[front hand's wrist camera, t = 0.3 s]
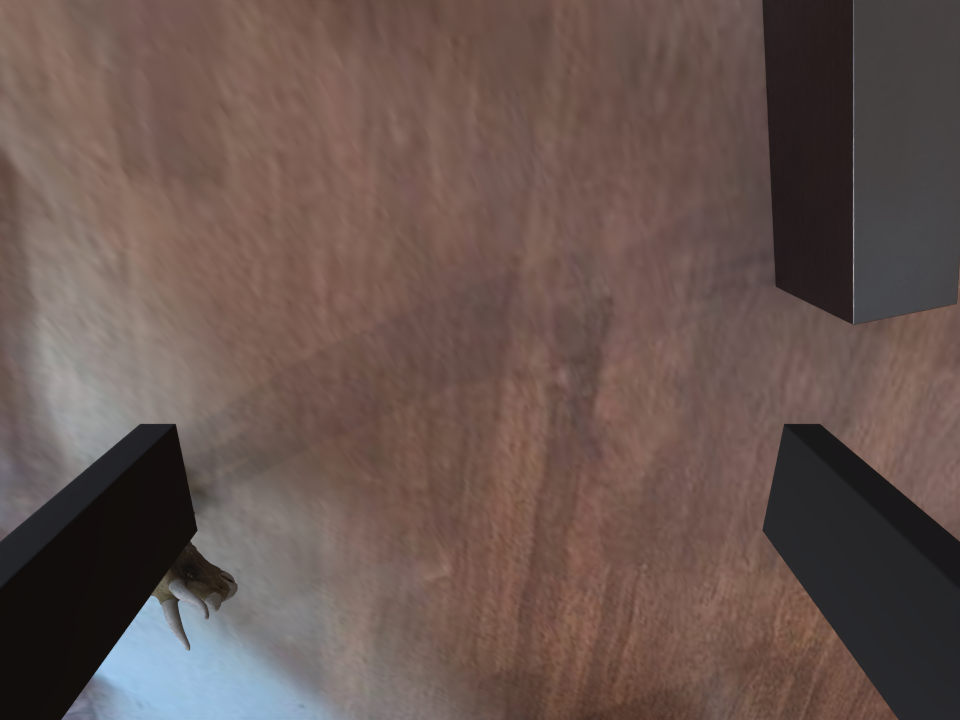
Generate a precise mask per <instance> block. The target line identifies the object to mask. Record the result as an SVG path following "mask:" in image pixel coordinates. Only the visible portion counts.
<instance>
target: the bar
mask: <svg viewBox="0 0 960 720" xmlns="http://www.w3.org/2000/svg"><path fill="white" fill-rule="evenodd" d="M763 19H764V41H765V62H766V83H767V105H768V126H769V147H770V169H771V190H772V211H773V233H774V254H775V275H776V287H778V288H780V289H782V290H784V291H786V292H788V293H790V294H792V295H794V296H796V297H798V298H800V299H802V300H804V301H806V302H808V303H810V304H812V305H814V306H816V307H818V308H820V309H822V310H824V311H826V312H828V313H830V314H832V315H834V316H836V317H839V318H841V319H843V320H845V321H847V322H849V323H851V324H853V325H856V324H861V323H866V322H870V321H875V320H880V319H885V318H890V317H895V316H900V315H905V314H910V313H915V312H920V311H925V310H930V309H934V308H939V307H944V306H949V305H954V304H957V295H958V279H959V263H960V0H763Z"/></svg>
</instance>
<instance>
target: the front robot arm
mask: <svg viewBox="0 0 960 720" xmlns="http://www.w3.org/2000/svg"><path fill="white" fill-rule="evenodd" d="M196 532H197V525H196V520H195V516H194V511H193V506H192V501H191V496H190V491H189V486H188V481H187V477H186V472H185V467H184V462H183V457H182V452H181V447H180V442H179V437H178V433H177V428H176V424H140V425H138V426H137V427H136V428H135V429H134V430H133V431H131V432H130V433H129V434H128V435H127V436H125V437H124V438H123V439H122V440H121V441H119V442H118V443H117V444H116V445H115V446H113V447H112V448H111V449H110V450H109V451H108V452H106V453H105V454H104V455H103V456H102V457H100V458H99V459H98V460H97V461H96V462H94V463H93V464H92V465H91V466H90V467H89V468H87V469H86V470H85V471H84V472H83V473H81V474H80V475H79V476H78V477H77V478H75V479H74V480H73V481H72V482H71V483H70V484H68V485H67V486H66V487H65V488H64V489H62V490H61V491H60V492H59V493H58V494H56V495H55V496H54V497H53V498H52V499H51V500H49V501H48V502H47V503H46V504H45V505H43V506H42V507H41V508H40V509H39V510H37V511H36V512H35V513H34V514H33V515H32V516H30V517H29V518H28V519H27V520H26V521H24V522H23V523H22V524H21V525H20V526H18V527H17V528H16V529H15V530H14V531H13V532H11V533H10V534H9V535H8V536H7V537H5V538H4V539H3V540H2V541H1V542H0V720H61V719H62V718H63V717H64V715H65V714H66V712H67V711H68V710H69V708H70V707H71V705H72V704H73V703H74V701H75V700H76V699H77V697H78V696H79V694H80V693H81V692H82V690H83V689H84V687H85V686H86V685H87V683H88V682H89V680H90V679H91V678H92V676H93V675H94V674H95V672H96V671H97V669H98V668H99V667H100V665H101V664H102V662H103V661H104V660H105V658H106V657H107V655H108V654H109V653H110V651H111V650H112V649H113V647H114V646H115V644H116V643H117V642H118V640H119V639H120V637H121V636H122V635H123V633H124V632H125V630H126V629H127V628H128V626H129V625H130V624H131V622H132V621H133V619H134V618H135V617H136V615H137V614H138V612H139V611H140V610H141V608H142V607H143V605H144V604H145V603H146V601H147V600H148V599H149V597H150V596H151V594H152V593H153V592H154V590H155V589H156V587H157V586H158V585H159V583H160V582H161V580H162V579H163V578H164V576H165V575H166V574H167V572H168V571H169V569H170V568H171V567H172V565H173V564H174V562H175V561H176V560H177V558H178V557H179V555H180V554H181V553H182V551H183V550H184V548H185V547H186V546H187V544H188V543H189V542H190V540H191V539H192V537H193V536H194V535H195V533H196ZM763 532H764V533H765V535H766V536H767V537H768V539H769V540H770V542H771V543H772V544H773V546H774V547H775V549H776V550H777V551H778V553H779V554H780V555H781V557H782V558H783V560H784V561H785V562H786V564H787V565H788V567H789V568H790V569H791V571H792V572H793V574H794V575H795V576H796V578H797V579H798V580H799V582H800V583H801V585H802V586H803V587H804V589H805V590H806V592H807V593H808V594H809V596H810V597H811V599H812V600H813V601H814V603H815V604H816V605H817V607H818V608H819V610H820V611H821V612H822V614H823V615H824V617H825V618H826V619H827V621H828V622H829V624H830V625H831V626H832V628H833V629H834V630H835V632H836V633H837V635H838V636H839V637H840V639H841V640H842V642H843V643H844V644H845V646H846V647H847V649H848V650H849V651H850V653H851V654H852V655H853V657H854V658H855V660H856V661H857V662H858V664H859V665H860V667H861V668H862V669H863V671H864V672H865V674H866V675H867V676H868V678H869V679H870V680H871V682H872V683H873V685H874V686H875V687H876V689H877V690H878V692H879V693H880V694H881V696H882V697H883V699H884V700H885V701H886V703H887V704H888V705H889V707H890V708H891V710H892V711H893V712H894V714H895V715H896V717H897V718H898V719H899V720H960V542H959V541H958V540H957V539H956V538H955V537H953V536H952V535H951V534H950V533H949V532H947V531H946V530H945V529H944V528H943V527H942V526H940V525H939V524H938V523H937V522H936V521H934V520H933V519H932V518H931V517H930V516H928V515H927V514H926V513H925V512H924V511H923V510H921V509H920V508H919V507H918V506H917V505H915V504H914V503H913V502H912V501H911V500H909V499H908V498H907V497H906V496H905V495H904V494H902V493H901V492H900V491H899V490H898V489H896V488H895V487H894V486H893V485H892V484H890V483H889V482H888V481H887V480H886V479H885V478H883V477H882V476H881V475H880V474H879V473H877V472H876V471H875V470H874V469H873V468H871V467H870V466H869V465H868V464H867V463H866V462H864V461H863V460H862V459H861V458H860V457H858V456H857V455H856V454H855V453H854V452H852V451H851V450H850V449H849V448H848V447H847V446H845V445H844V444H843V443H842V442H841V441H839V440H838V439H837V438H836V437H835V436H833V435H832V434H831V433H830V432H829V431H827V430H826V429H825V428H824V427H823V426H822V425H820V424H784V428H783V433H782V437H781V442H780V447H779V452H778V457H777V462H776V467H775V472H774V477H773V481H772V486H771V491H770V496H769V501H768V506H767V511H766V516H765V520H764V525H763Z"/></svg>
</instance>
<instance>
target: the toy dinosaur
mask: <svg viewBox="0 0 960 720" xmlns="http://www.w3.org/2000/svg"><path fill="white" fill-rule="evenodd" d="M194 514H195V512H194ZM237 586H238V585H237V584H236V583H235V580H234V578H233V577H232V576H231V575H230V574H229V573H227V572H225V571H222V570H221V569H220V568H219V567H217V566H214V565H212V564H211V563H209V562H208V561H207V560H206V559H205V558H204V557H203V556H202V555H201V554H200V553H199V552H198V551H197V549H196V547H195V546H194V545H192V543H191V541H190V542H189V543H188V544H187V546H186V547H185V548H184V550H183V551H182V553H181V554H180V555H179V557H178V558H177V560H176V561H175V562H174V564H173V565H172V567H171V568H170V569H169V571H168V572H167V574H166V575H165V576H164V578H163V579H162V580H161V582H160V583H159V585H158V586H157V587H156V589H155V590H154V592H153V593H152V594H151V596H155V597H156V598H158V600H159V602H160V604H161V605H162V608H163V611H164V615H165V617H166V620H167V623H168V625H169V627H170V628H171V630H172V632H173V633H174V634H175V635H176V637H177V638H178V639H179V640H180V641H181V643H182V644H183V646H184V647H185V648H186V650H188V651H189V650H190V644H189V642H188V639H187V637H186V634H185V632H184V629H183V626H182V622H181V618H180V614H179V609H178V601H179V600H182V601H184V602H188V603H192V604H195V605H197V606H198V607H199V608H200V609H201V610H202V612H203V614H204V617H205V619H206V620H207V619H208V618H209V611H208V608H207V606H206V604H205V602H207V603H208V604H209V605H210V607H211V608H212V610H213V611H214V612H216V611H217V610H218V609H219V608H220V606H221V602H223V601H225V600H228V599H229V598H231V597H233V596H234V594H235V593H236V591H237ZM199 597H200V598H199ZM203 600H204V601H205V602H204V601H203Z"/></svg>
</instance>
